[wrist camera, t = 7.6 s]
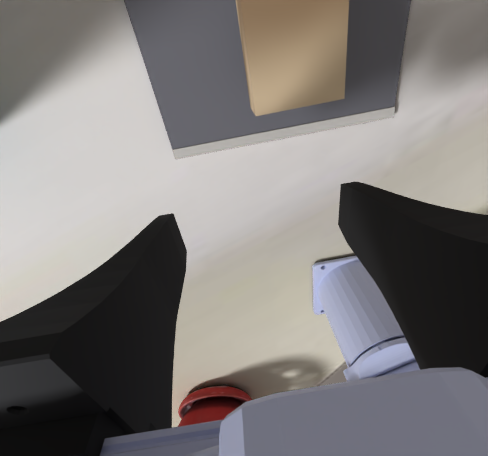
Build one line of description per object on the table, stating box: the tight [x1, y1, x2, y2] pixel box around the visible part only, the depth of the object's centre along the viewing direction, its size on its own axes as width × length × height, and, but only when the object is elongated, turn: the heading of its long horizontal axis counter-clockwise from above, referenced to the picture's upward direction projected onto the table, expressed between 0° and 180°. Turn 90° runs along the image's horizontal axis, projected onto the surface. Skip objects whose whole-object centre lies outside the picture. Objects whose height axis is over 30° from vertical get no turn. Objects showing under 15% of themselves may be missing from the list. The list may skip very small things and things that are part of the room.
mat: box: [124, 0, 411, 159], centre depth 15 cm, size 16×12×1 cm
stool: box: [235, 0, 349, 116], centre depth 13 cm, size 7×4×5 cm, turn 10°
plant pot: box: [178, 385, 252, 427], centre depth 36 cm, size 13×13×12 cm
